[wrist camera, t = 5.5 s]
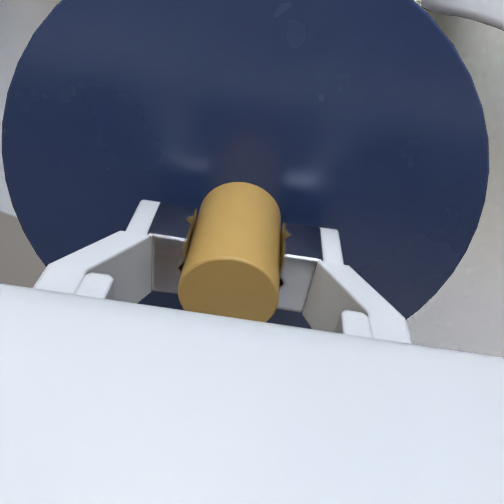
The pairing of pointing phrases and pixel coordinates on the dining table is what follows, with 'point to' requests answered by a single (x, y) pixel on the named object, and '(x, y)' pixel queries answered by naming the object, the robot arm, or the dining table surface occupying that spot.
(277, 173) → the tin lid
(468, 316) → the dining table surface
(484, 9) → the spoon rest
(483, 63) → the dining table surface
